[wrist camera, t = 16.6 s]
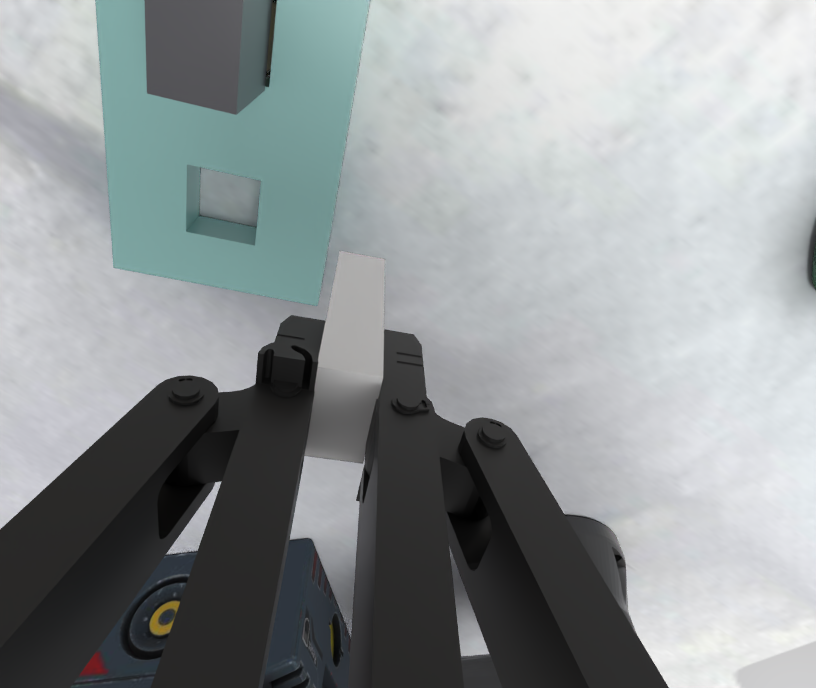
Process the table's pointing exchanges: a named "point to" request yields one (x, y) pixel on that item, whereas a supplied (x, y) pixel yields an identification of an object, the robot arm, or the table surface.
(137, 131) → the socket plate
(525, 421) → the table surface
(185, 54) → the plug
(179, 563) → the power unit
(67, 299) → the table surface
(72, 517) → the robot arm
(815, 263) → the coffee jar
